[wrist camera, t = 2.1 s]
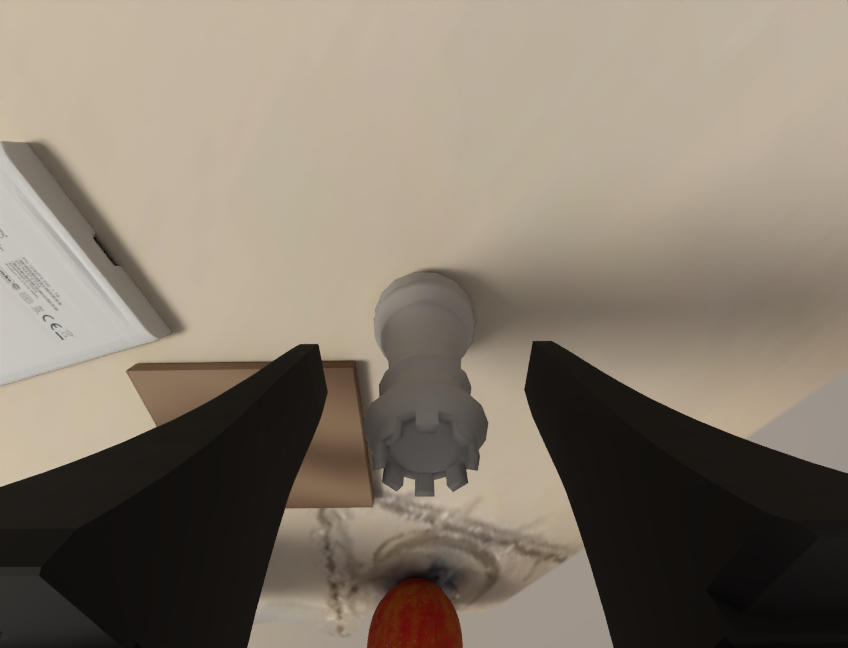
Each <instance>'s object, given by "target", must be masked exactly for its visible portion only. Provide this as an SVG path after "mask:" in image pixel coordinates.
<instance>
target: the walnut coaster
mask: <svg viewBox="0 0 848 648" xmlns="http://www.w3.org/2000/svg"><path fill="white" fill-rule="evenodd" d="M270 363H271V362H239V363H168V364H135V365H134V366H132V367H131V368H129V369H128V370H127V371H126V372H127V374H128V376H129V378H130V380H131V381H132V383H133V385H134V387H135V388H136V390H137V392H138V394H139V396H140V397H141V399H142V401H143V403H144V404H145V406H146V408H147V410H148V412H149V413H150V415H151V417H152V419H153V420H154V422H155V424H156V426H157V427H158V426H160V425H163V424H165V423H167V422H169V421H171V420H173V419H176V418H178V417H180V416H182V415H183V414H185V413H187V412H189V411H191V410H193V409H195V408H197V407H199V406H201V405H203V404H205V403H206V402H208V401H210V400H212V399H214V398H215V397H217V396H219V395H220V394H222V393H224V392H225V391H227V390H229V389H230V388H232V387H234V386H235V385H237V384H239V383H240V382H242V381H243V380H245V379H247V378H248V377H250V376H251V375H253V374H255V373H256V372H258V371H259V370H261V369H262V368H264V367H265V366H267V365H268V364H270ZM322 365H323V370H324V375H325V380H326V385H327V390H328V394H327V398H326V402H325V406H324V409H323V413H322V416H321V419H320V422H319V424H318V427H317V429H316V432H315V434H314V436H313V439H312V441H311V444H310V446H309V448H308V451H307V453H306V455H305V458H304V460H303V462H302V465H301V467H300V469H299V472H298V474H297V476H296V479H295V481H294V484H293V487H292V489H291V492H290V495H289V497H288V501H287V504H286V507H285V508H351V507H373V503H374V493H373V486H372V479H371V472H370V465H369V458H368V451H367V443H366V440H365V438H364V427H363V415H362V408H361V400H360V393H359V386H358V379H357V372H356V365H355V361H322Z"/></svg>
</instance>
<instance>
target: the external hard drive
mask: <svg viewBox="0 0 848 648" xmlns="http://www.w3.org/2000/svg"><path fill="white" fill-rule="evenodd" d="M95 235H96V233H95V232H94V230H93V229H92V228H91V226H90V225H89V224H88V222H87V221H86V220H85V218H84V217H83V216H82V215H81V213H80V212H79V211H78V209H77V208H76V207H75V205H74V204H73V203H72V201H71V200H70V199H69V198H68V196H67V195H66V194H65V192H64V191H63V190H62V188H61V187H60V186H59V185H58V183H57V182H56V181H55V179H54V178H53V177H52V175H51V174H50V173H49V171H48V170H47V169H46V168H45V166H44V165H43V164H42V162H41V161H40V160H39V158H38V157H37V156H36V154H35V153H34V152H33V151H32V149H31V148H30V147H29V145H28V144H27V143H25V142H8V141H1V142H0V386H2V385H5V384H9V383H12V382H15V381H19V380H22V379H26V378H29V377H32V376H36V375H39V374H43V373H46V372H50V371H53V370H57V369H60V368H64V367H67V366H71V365H74V364H77V363H81V362H84V361H88V360H91V359H95V358H98V357H102V356H105V355H109V354H112V353H115V352H119V351H122V350H126V349H129V348H132V347H136V346H139V345H143V344H146V343H150V342H153V341H157V340H160V339H161V338H163V337H164V336H166V335H167V334H169V333H171V330H170V329H169V328H168V327H167V325H166V324H165V323H164V321H163V320H162V319H161V318H160V316H159V315H158V314H157V312H156V311H155V310H154V308H153V307H152V306H151V305H150V303H149V302H148V301H147V299H146V298H145V297H144V295H143V294H142V293H141V292H140V290H139V289H138V288H137V286H136V285H135V284H134V282H133V281H132V280H131V279H130V277H129V276H128V275H127V273H126V272H125V271H124V269H123V268H122V267H121V266H118V265H116V264H114V263H113V262H112V260H111V259H110V258H109V256H108V255H107V253H106V252H105V251H103V249H102V248H101V247H100V246H99V244H98V243H97V241H96V239H95Z"/></svg>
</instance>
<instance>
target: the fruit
mask: <svg viewBox="0 0 848 648" xmlns="http://www.w3.org/2000/svg"><path fill="white" fill-rule="evenodd" d="M462 646H463V644H462V633H461V627H460V623H459V619H458V615H457V613H456V610H455V608H454V606H453V604H452V603H451V601H450V600H449V598H448V597H447V596H446V595H445V593H444V592H443V591H442V589H441V588H440V587H439V586H438V585H436V584H435V583H433V582H431V581H429V580H427V579H424V578H408V579H406V580H404V581H402V582H401V583H400V584H398V585H397V586H395V587H394V588H392V589H391V590H389V591H388V592H387V593H386V595H385V596H384V598H383V599H382V600H381V601H380V603H379V605H378V606H377V608H376V610H375V612H374V615H373V618H372V621H371V625H370V629H369V635H368V644H367V648H463V647H462Z"/></svg>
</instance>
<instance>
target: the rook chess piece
mask: <svg viewBox="0 0 848 648" xmlns="http://www.w3.org/2000/svg"><path fill="white" fill-rule="evenodd" d="M473 312H474V311H473V309H472V306H471V303H470V300H469V297H468V294H467V293H466V292H465V291H464V290H463V289H462V288H461V287H460V286H459V285H458V284H457V283H456V282H455V281H454V280H452V279H449V278H447V277H445V276H442V275H440V274H438V273H426V272H414V273H412V274H409V275H406V276H404V277H401V278H398V279H396V280H395V281H394V282H393V283H392V284H391V285H389V286H388V287H387V288H386V289H385V290H384V291H383V292H382V293H381V296H380V298H379V301H378V303H377V306H376V308H375V317H374V332H375V339H376V342H377V343H378V345H379V347H380V349H381V351H382V353H383V355H384V356H385V357H386V358H387V360H388V362H389V369H388V370H387V371H386V372H385V374H384V376H383V378H382V380H381V382H380V384H379V393H380V397H379V398H378V399H376V400H375V401H374V402H373V403H371V405H370V407H369V409H368V412H367V414H366V416H365V418H364V420H363V427H364V438H365V440H366V442H367V443H368V445H369V446H370V448H371V449H372V451H373V454H372V458H373V470H374V469H382V468H384V471H383V479H382V482H383V483H384V484H386V485H387V486H389V487H391V488H392V489H394V490H395V491H398V490H399V489H400V488H401V487H402V486H403V478H404V477H407V478H411V479H414V480H415V496H434V480H436V479H439V478H443V477H446V479H447V486H448V487H449V488H450V489H451V490H452V491H453V492H454V491H455V490H457V489H459V488H460V487H462V486H464V485H465V484H467V483H468V479H467V472H466V469H470V470H477V471H478V465H479V459H480V455H479V449H480V447H481V446H482V445H483V443H484V442H485V440H486V434H487V428H488V421H487V418H486V416H485V413H484V411H483V408H482V406H481V404H479V403H478V402H477V401H476V400H475V399H474V398H473V397H471V396H470V393H471V385H470V382H469V380H468V377H467V375H466V373H465V372H464V371H463V370H462V369H461V359H462V357H463V356H464V355H465V353H466V351H467V350H468V348H469V346H470V345H471V343H472V340H473V334H474V325H475V319H474V316H473Z"/></svg>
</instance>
